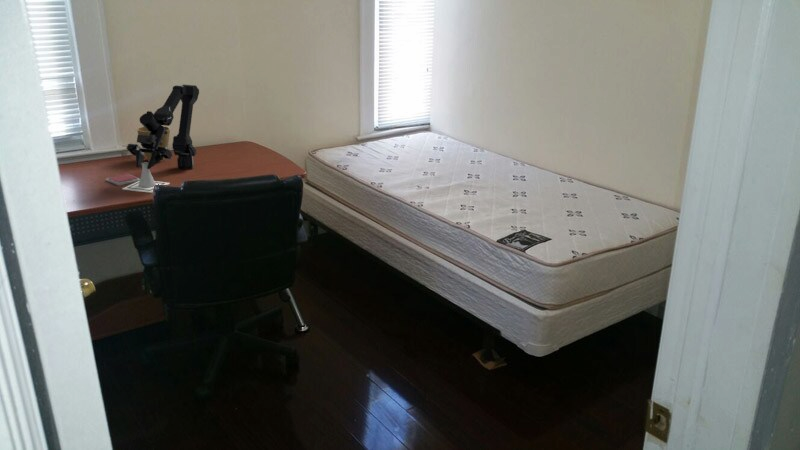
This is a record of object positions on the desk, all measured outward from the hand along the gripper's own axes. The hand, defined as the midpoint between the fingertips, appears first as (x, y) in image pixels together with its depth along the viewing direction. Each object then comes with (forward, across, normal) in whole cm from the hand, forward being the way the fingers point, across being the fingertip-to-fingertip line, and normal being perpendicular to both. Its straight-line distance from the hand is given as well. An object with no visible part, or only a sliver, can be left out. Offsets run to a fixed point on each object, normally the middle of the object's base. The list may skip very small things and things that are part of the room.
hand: (142, 168), depth 272 cm
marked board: (+5, 0, +7) cm, 9 cm away
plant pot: (-22, -20, +34) cm, 45 cm away
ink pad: (+2, -14, +10) cm, 17 cm away
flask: (+5, 0, +7) cm, 9 cm away
